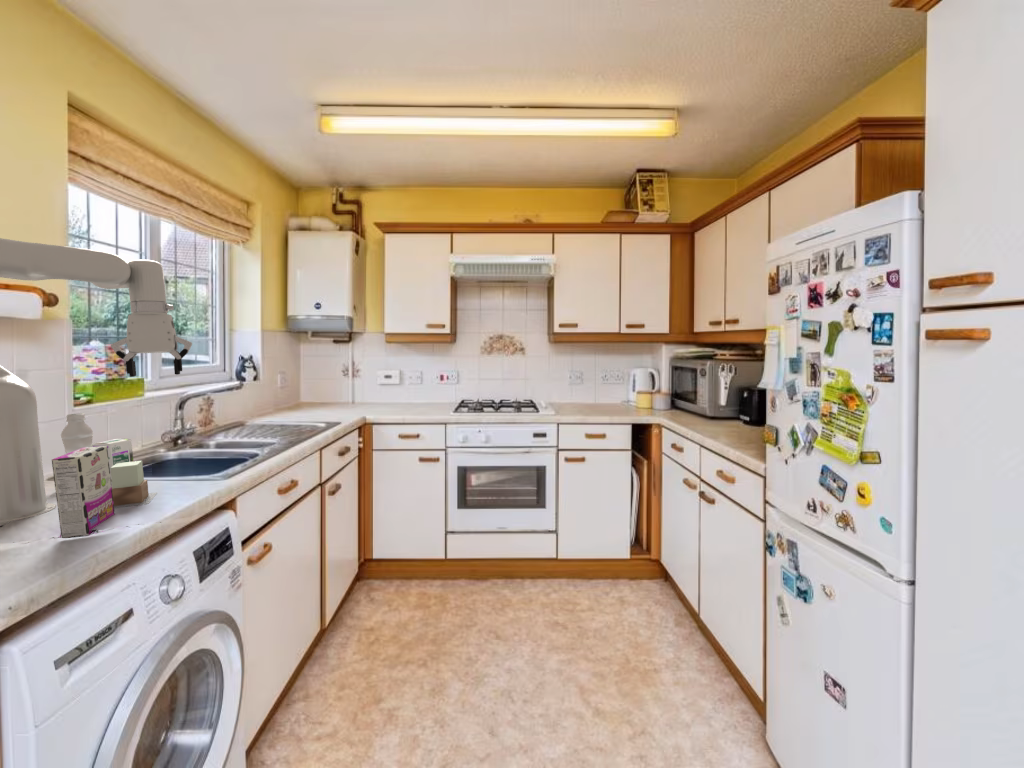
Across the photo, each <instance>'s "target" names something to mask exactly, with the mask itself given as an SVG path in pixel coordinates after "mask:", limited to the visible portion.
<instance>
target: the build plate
mask: <svg viewBox="0 0 1024 768" xmlns="http://www.w3.org/2000/svg"><path fill="white" fill-rule="evenodd" d="M148 494H149V495H148V497H147V498H146V499H145V500H144V501H143V502H140V503H133V504H125V505H117V506H114V509H120V508H127V507H133V506H143V505H148V504H150V503H151V501H152V500H153V499H154V498H155V496H156V495H157V494H158V492H148Z"/></svg>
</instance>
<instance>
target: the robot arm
mask: <svg viewBox="0 0 1024 768" xmlns="http://www.w3.org/2000/svg"><path fill="white" fill-rule="evenodd" d="M0 278H2V279H3V278H4V279H12V280H17V281H18V280H20V281H32V282H34V281H45V280H66V281H78V282H84V283H85V282H86V283H91V284H92V285H93V286H95V287H97V288H101V289H103V290H104V289H105V290H117V289H119V290H120V289H128V292H129V303H130V312H131V313H130V314H128V316H127V323H126V337H124V338H121V339H119V340H118V341H115V342H113V343H111V344H110V348H111V349H112V350H113V351H114V352H115V353H114V354H116V356H118V357H119V358H120V359H122V360H123V361H124V362H125V368H126V369H125V371H126V374H128V375H129V377H130V378H132V377H136V376H137V367H136V361H135V360H134V359H135V357H136V356H137V355H138V354H159V353H160V354H162V353H165V354H166V353H169V354H171V355H172V356H173V358H174V359H173V369H174V375H176V376H177V375H181V372H183V363H182V359H183V358H184V357H185V356H186V355H187V354H188V353H189V352H190V349H191V348H192V346H193V342H192V341H189V340H187V339H184V338H182V337H179V336H177V333H176V328H175V323H174V320H173V316H172V315H171V314H168V313H169V311H174V309H175V308H174V305H173V304H169V303H168V302H167V297H166V286H165V275H164V268H163V265H162V263H160V262H158V261H155V260H151V259H131V260H129V261H127V260H125V258H123V257H121V256H119V255H117V254H114V253H111V252H106V251H100V250H93V249H88V248H82V247H80V248H79V247H74V246H65V245H56V244H46V243H38V242H29V241H21V240H15V239H7V238H1V237H0ZM178 343H180V344H182V345H184V347H183V349H181V351H180V352H179V351H178ZM124 345H127V350H128V352H127V353H125V351H123V350H122V348H121V347H122V346H124ZM37 402H38V401H37V396H36V393H35V391H34V389H33V388H32V387H31V386H30V385H29V384H28V383H27V382H26V381H24V380H23V379H22V378H20V377H18V376H17V375H15V374H13V373H12V372H11V371H9V370H8V369H6V368H4V366H2V365H0V527H1V526H6V525H7V524H9V523H10V522H13V521H19V520H25V519H28V518H32V517H36V516H40V515H43V514H46V513H48V512H50V511H53V510H55V509H56V508H57V504H55V503H51V502H47V495H46V493H47V492H46V486H45V485H46V484H45V476H44V469H43V468H44V467H43V465H44V464H43V459H42V457H43V456H42V449H41V441H40V440H41V439H40V429H39V421H38V420H39V418H38V404H37Z"/></svg>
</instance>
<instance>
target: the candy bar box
mask: <svg viewBox="0 0 1024 768" xmlns="http://www.w3.org/2000/svg"><path fill="white" fill-rule="evenodd" d="M51 466H52V473H53V482H54V488H55V497H56V507H57V510H58V511H57V512H58V513H57V514H58V520H59V521H58V522H59V528H60V529H59V530H60V535H61V539H70V538H78V537H85V536H90V535H92V534H93V533H95V532H96V531H97V529H94V528H96V527H97V526H99V525H100V524H101V523H103V522H104V521H106V520H108V519H109V518H110V517H112V516H113V515H115V508H114V502H113V494H112V485H111V476H110V468H109V459H108V450H107V446H98V447H97V446H96V447H85V448H81V449H78V450H75V451H73V452H70V453H68V454H66V453H65V454H63V455H60V456H57V457H55V458H53V459H51Z"/></svg>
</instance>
